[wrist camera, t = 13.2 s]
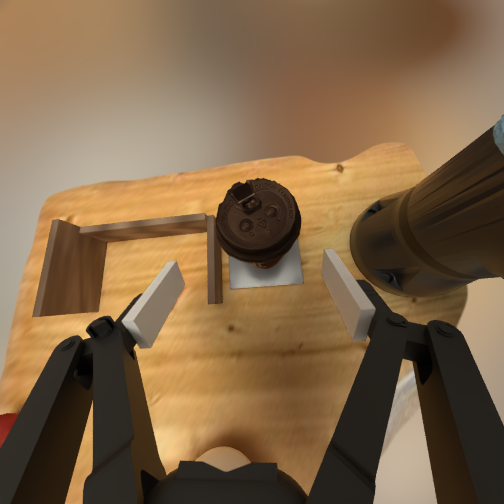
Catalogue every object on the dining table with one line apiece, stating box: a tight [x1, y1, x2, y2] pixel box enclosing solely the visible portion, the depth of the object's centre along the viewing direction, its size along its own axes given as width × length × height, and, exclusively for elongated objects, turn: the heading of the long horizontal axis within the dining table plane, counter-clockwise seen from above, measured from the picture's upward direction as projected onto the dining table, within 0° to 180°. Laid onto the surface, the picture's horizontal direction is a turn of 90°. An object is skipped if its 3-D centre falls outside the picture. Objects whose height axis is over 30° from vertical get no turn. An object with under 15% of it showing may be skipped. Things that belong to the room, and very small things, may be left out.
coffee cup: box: [215, 178, 301, 269], centre depth 23 cm, size 9×8×13 cm
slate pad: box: [229, 238, 304, 289], centre depth 29 cm, size 11×11×1 cm
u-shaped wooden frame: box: [32, 213, 223, 317], centre depth 27 cm, size 22×13×8 cm, turn 94°
